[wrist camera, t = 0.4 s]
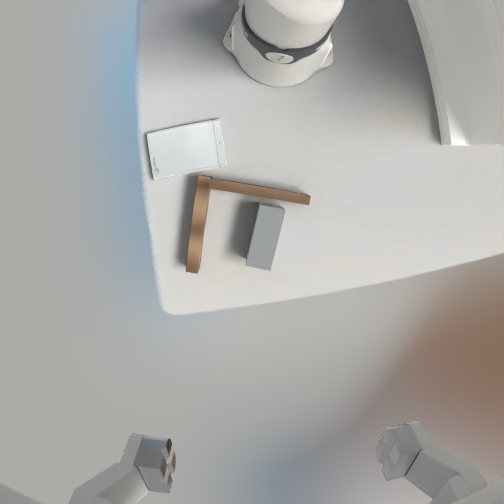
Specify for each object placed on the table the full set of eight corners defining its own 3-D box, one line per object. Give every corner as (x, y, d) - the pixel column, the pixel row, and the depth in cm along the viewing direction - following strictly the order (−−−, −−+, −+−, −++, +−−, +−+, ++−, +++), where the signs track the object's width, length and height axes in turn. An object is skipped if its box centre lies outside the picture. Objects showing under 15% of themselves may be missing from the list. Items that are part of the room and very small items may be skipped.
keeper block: (259, 201, 51) (260, 204, 47) (282, 207, 52) (285, 210, 48) (246, 258, 54) (245, 265, 50) (268, 263, 54) (270, 270, 50)
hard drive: (153, 180, 49) (226, 167, 48) (146, 133, 47) (219, 117, 46) (156, 180, 50) (227, 166, 50) (149, 134, 48) (220, 119, 48)
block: (470, 145, 48) (576, 149, 21) (441, 145, 48) (552, 146, 21) (433, -4, 39) (506, -56, 12) (403, -11, 39) (473, -75, 12)
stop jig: (200, 175, 50) (198, 175, 47) (307, 193, 51) (310, 194, 48) (188, 266, 54) (185, 271, 52) (289, 282, 55) (291, 288, 53)
